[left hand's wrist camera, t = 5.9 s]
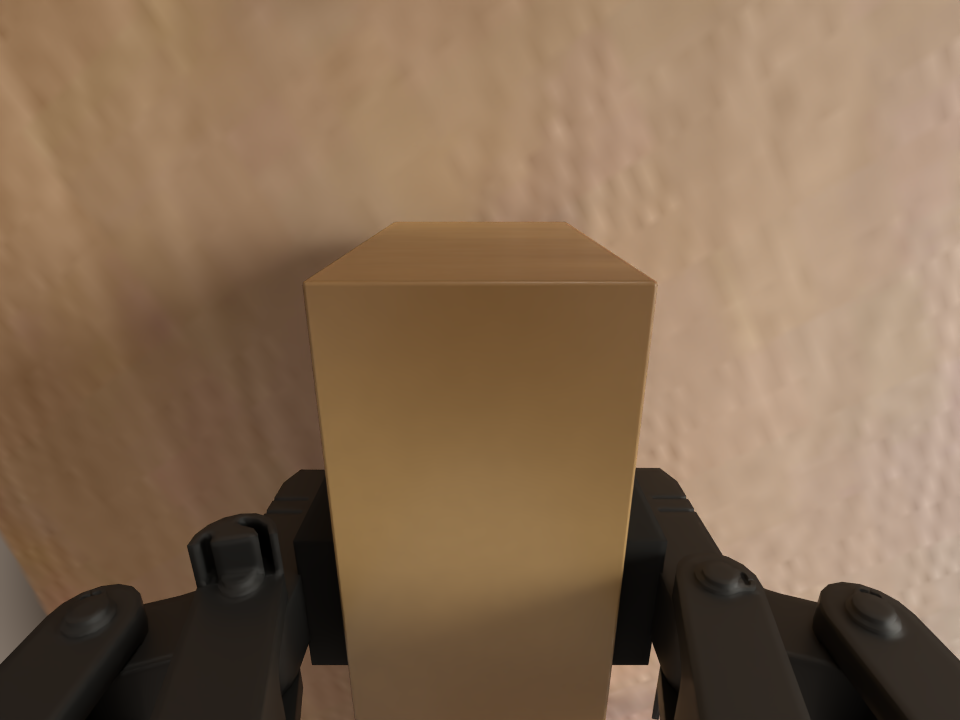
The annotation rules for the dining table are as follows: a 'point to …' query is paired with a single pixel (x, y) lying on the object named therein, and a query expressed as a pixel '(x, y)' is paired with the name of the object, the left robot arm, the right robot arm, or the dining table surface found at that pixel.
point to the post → (480, 463)
